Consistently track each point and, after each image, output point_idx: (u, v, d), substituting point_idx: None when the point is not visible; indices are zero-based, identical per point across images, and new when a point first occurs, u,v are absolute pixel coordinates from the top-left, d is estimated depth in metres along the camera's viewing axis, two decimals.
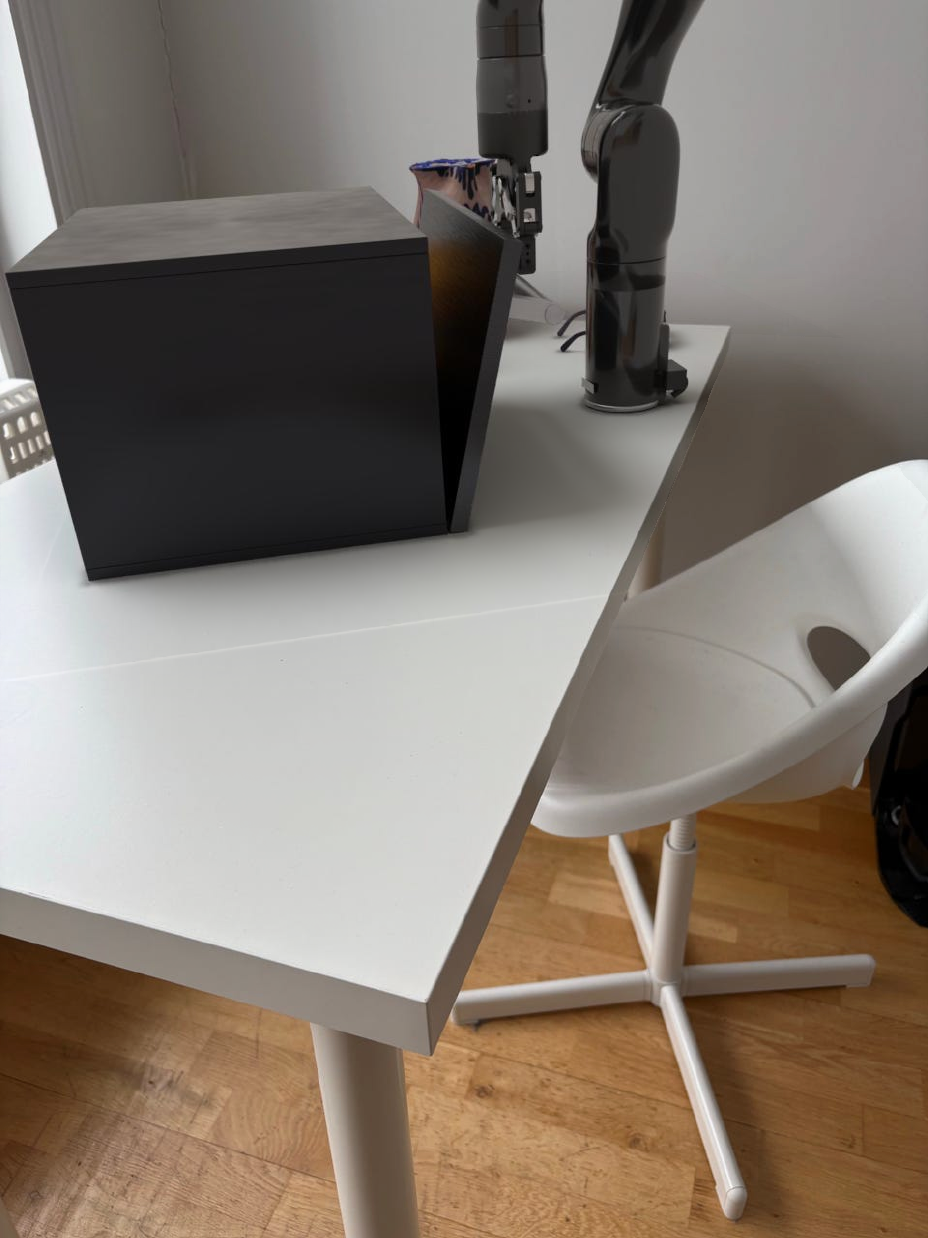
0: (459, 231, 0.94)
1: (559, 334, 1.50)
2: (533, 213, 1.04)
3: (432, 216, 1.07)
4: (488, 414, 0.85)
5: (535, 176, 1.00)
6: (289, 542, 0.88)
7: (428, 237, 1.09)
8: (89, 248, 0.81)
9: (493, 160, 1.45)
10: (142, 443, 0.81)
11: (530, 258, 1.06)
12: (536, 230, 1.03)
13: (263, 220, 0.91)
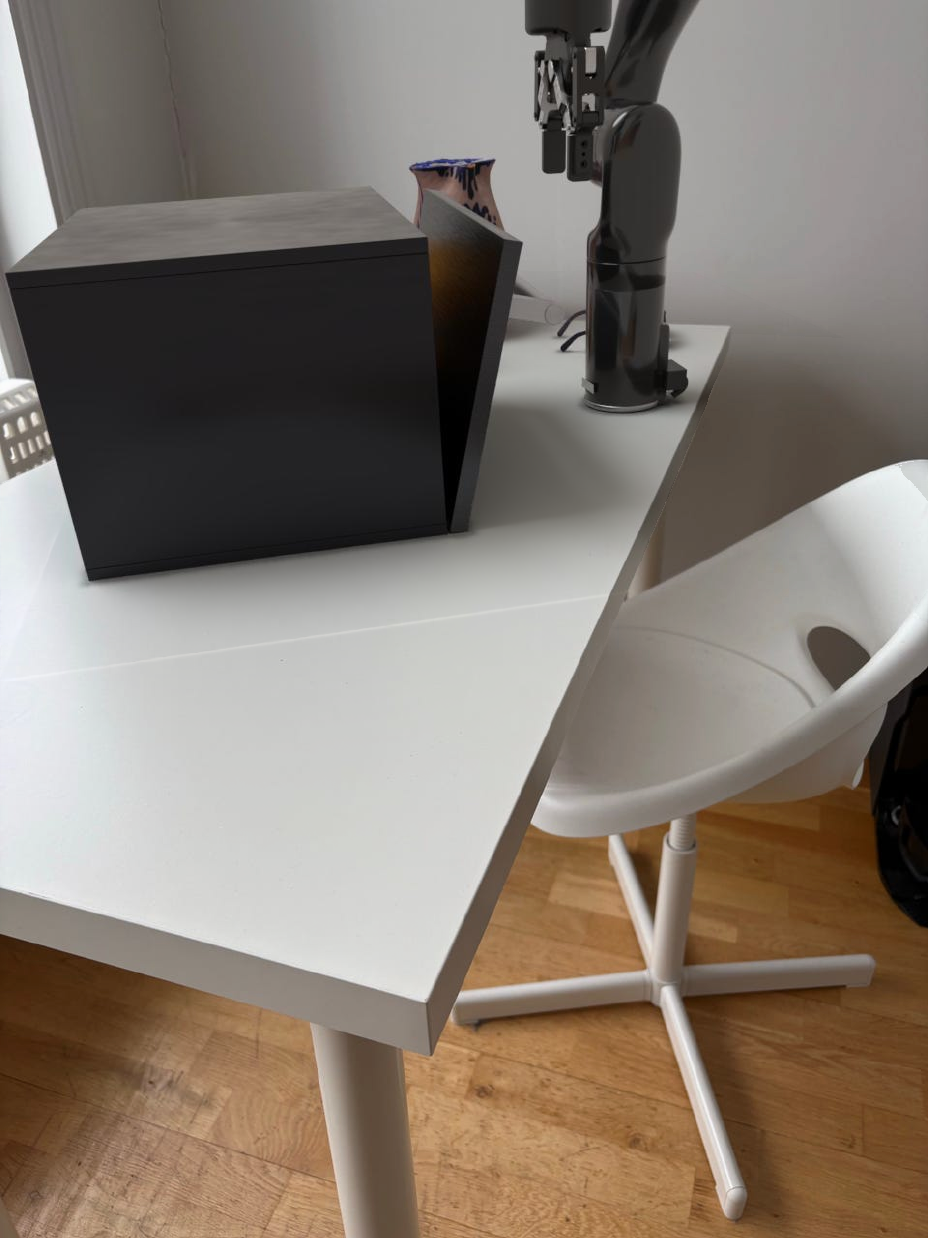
0: (459, 231, 0.94)
1: (559, 334, 1.50)
2: (592, 103, 0.85)
3: (432, 216, 1.07)
4: (488, 414, 0.85)
5: (598, 51, 0.81)
6: (289, 542, 0.88)
7: (428, 237, 1.09)
8: (89, 248, 0.81)
9: (493, 160, 1.45)
10: (142, 443, 0.81)
11: (586, 160, 0.86)
12: (596, 122, 0.83)
13: (263, 220, 0.91)
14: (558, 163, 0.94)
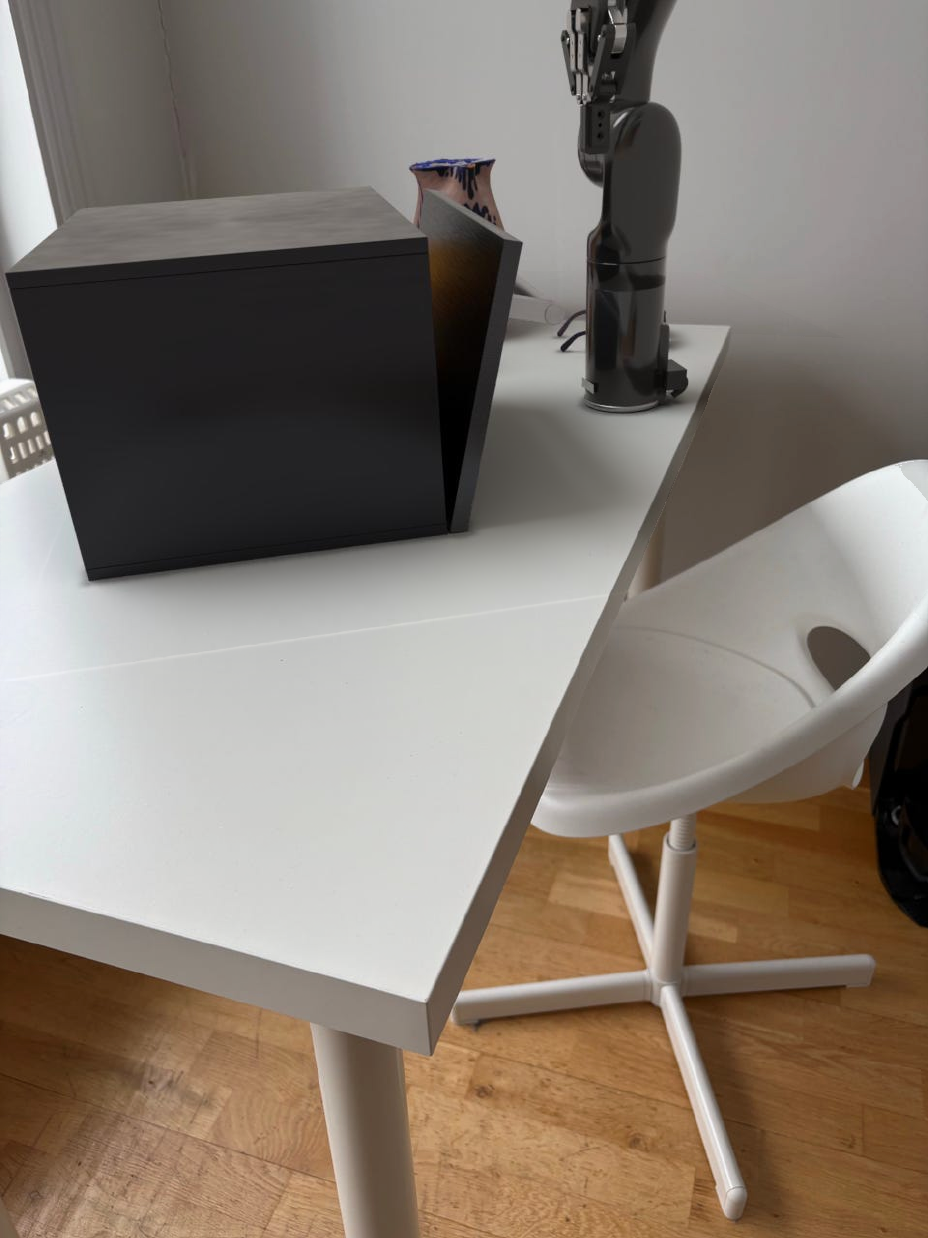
0: (459, 231, 0.94)
1: (559, 334, 1.50)
2: (613, 73, 0.80)
3: (432, 216, 1.07)
4: (488, 414, 0.85)
5: (628, 35, 0.75)
6: (289, 542, 0.88)
7: (428, 237, 1.09)
8: (89, 248, 0.81)
9: (493, 160, 1.45)
10: (142, 443, 0.81)
11: (603, 131, 0.82)
12: (614, 90, 0.79)
13: (263, 220, 0.91)
14: None
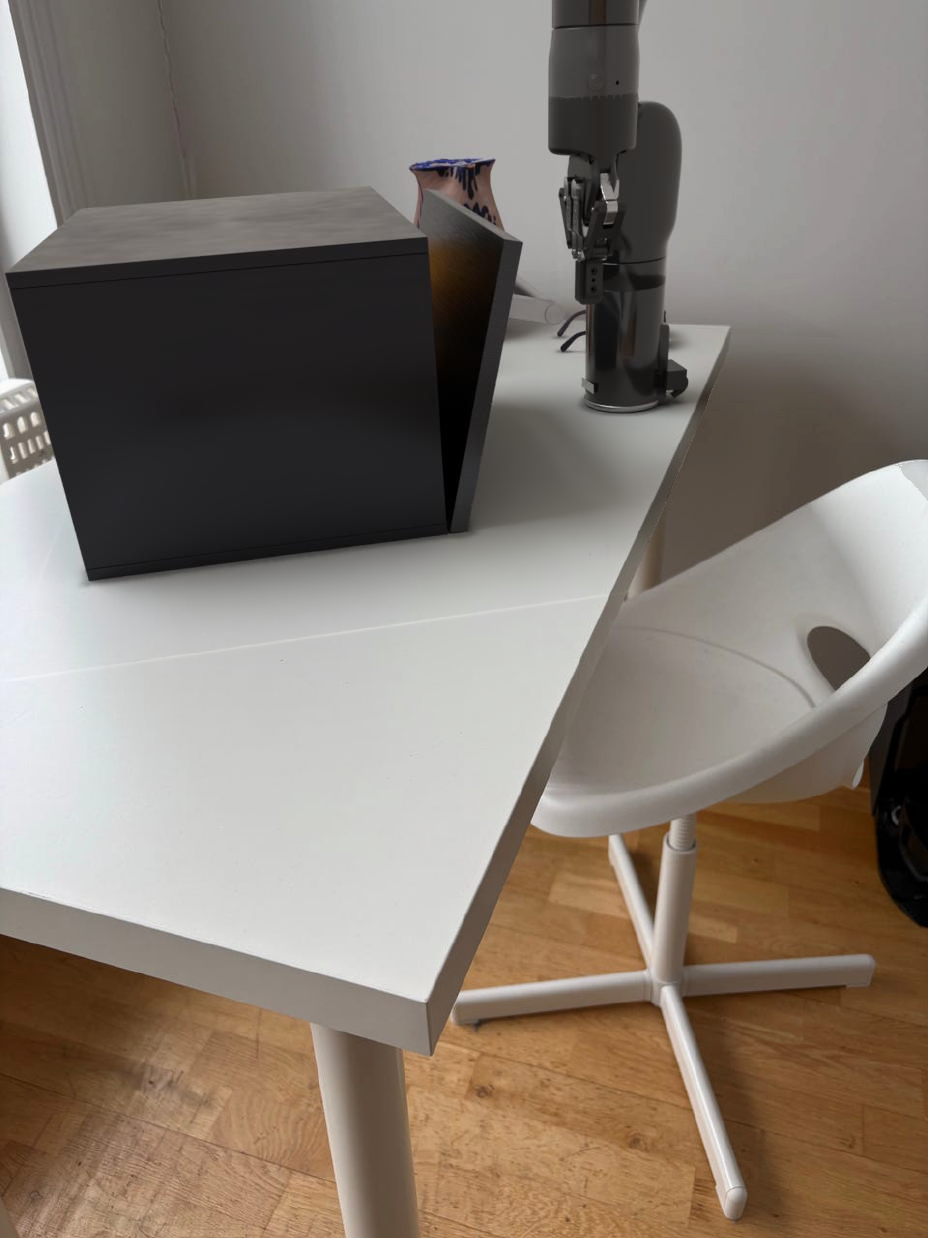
0: (459, 231, 0.94)
1: (559, 334, 1.50)
2: None
3: (432, 216, 1.07)
4: (488, 414, 0.85)
5: (619, 210, 0.81)
6: (289, 542, 0.88)
7: (428, 237, 1.09)
8: (89, 248, 0.81)
9: (493, 160, 1.45)
10: (142, 443, 0.81)
11: (596, 285, 0.89)
12: (606, 253, 0.86)
13: (263, 220, 0.91)
14: None
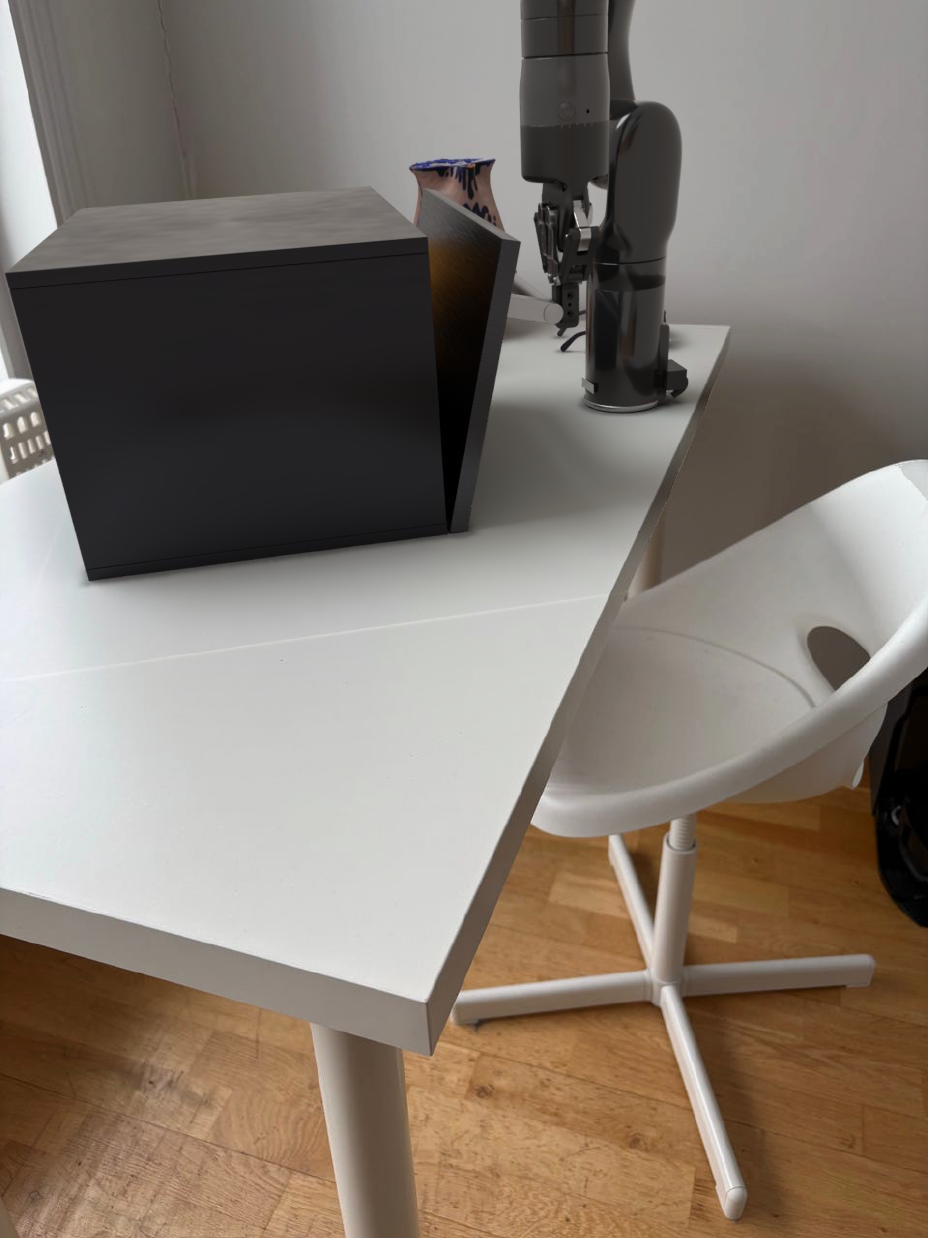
0: (457, 231, 0.94)
1: (559, 334, 1.50)
2: None
3: (431, 216, 1.07)
4: (487, 414, 0.85)
5: (592, 237, 0.82)
6: (289, 542, 0.88)
7: None
8: (89, 248, 0.81)
9: (493, 160, 1.45)
10: (142, 443, 0.81)
11: (573, 310, 0.89)
12: (581, 278, 0.86)
13: (263, 220, 0.91)
14: None
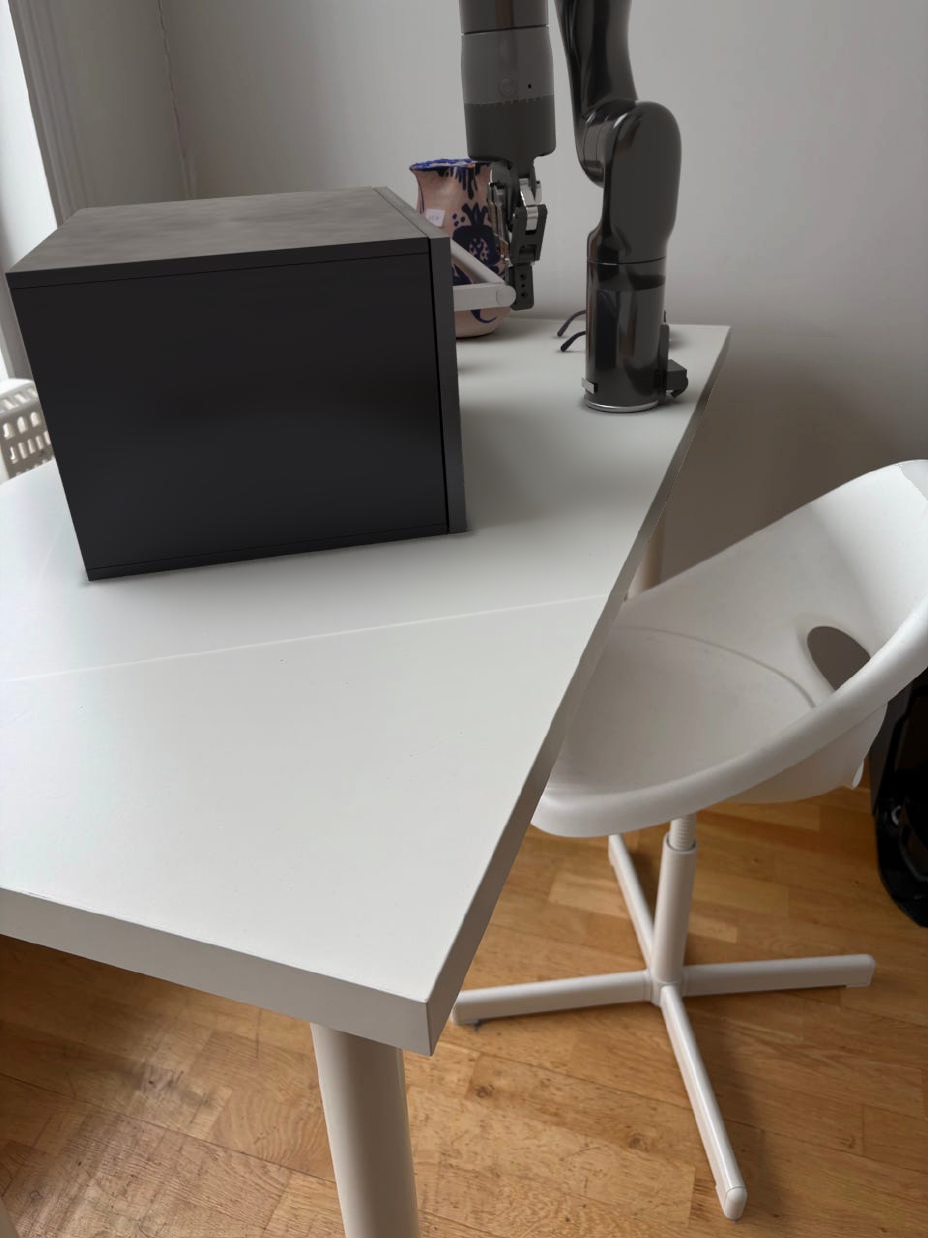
0: None
1: (559, 334, 1.50)
2: None
3: None
4: (458, 412, 0.85)
5: (540, 216, 0.80)
6: (289, 542, 0.88)
7: None
8: (89, 248, 0.81)
9: None
10: (142, 443, 0.81)
11: (526, 291, 0.87)
12: (532, 258, 0.84)
13: (263, 220, 0.91)
14: None
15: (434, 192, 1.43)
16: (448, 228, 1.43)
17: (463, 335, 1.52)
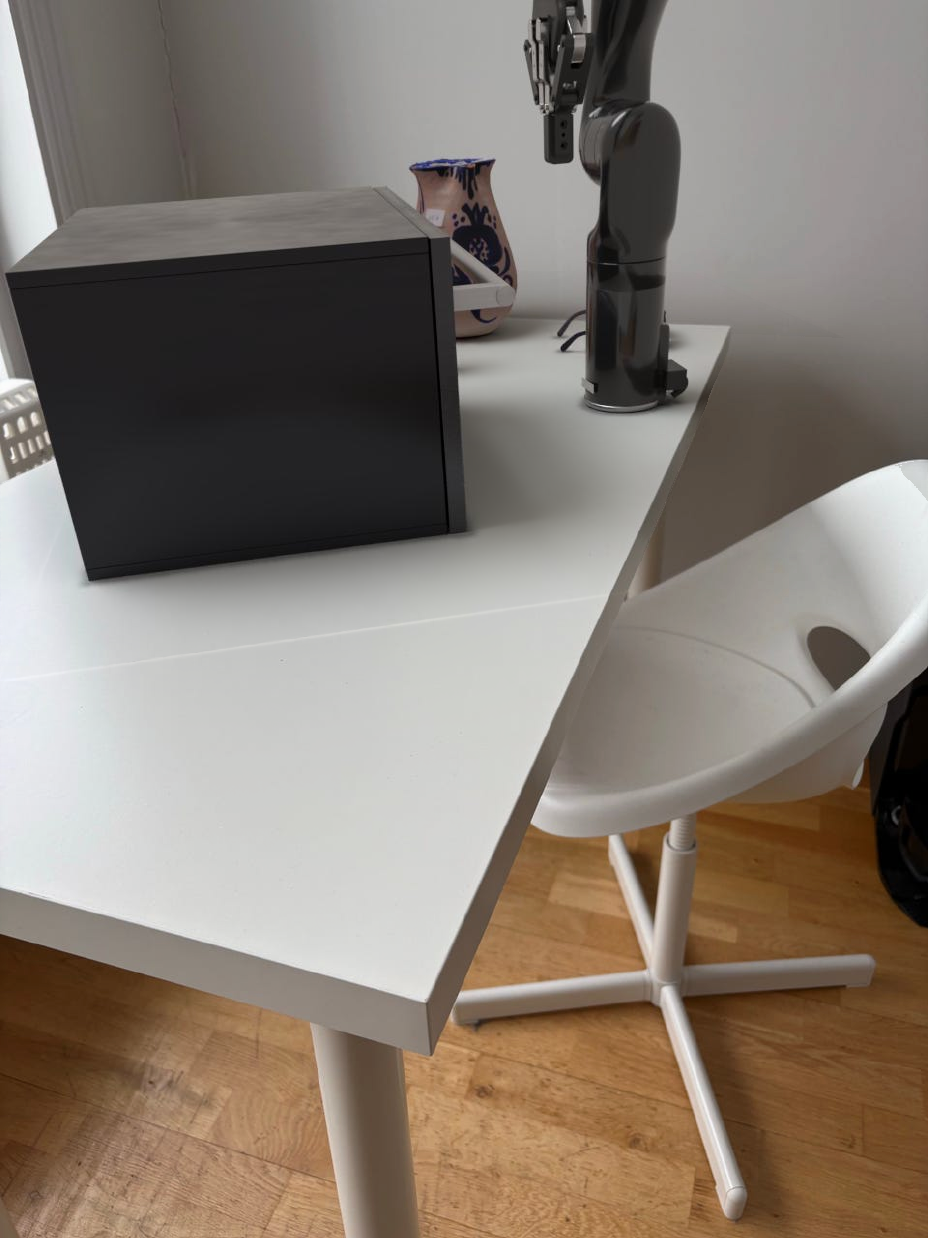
0: None
1: (559, 334, 1.50)
2: (575, 82, 0.80)
3: None
4: (458, 412, 0.85)
5: (587, 45, 0.74)
6: (289, 542, 0.88)
7: None
8: (89, 248, 0.81)
9: (493, 160, 1.45)
10: (142, 443, 0.81)
11: (567, 141, 0.82)
12: (576, 100, 0.79)
13: (263, 220, 0.91)
14: None
15: (434, 192, 1.43)
16: (448, 228, 1.43)
17: (463, 335, 1.52)
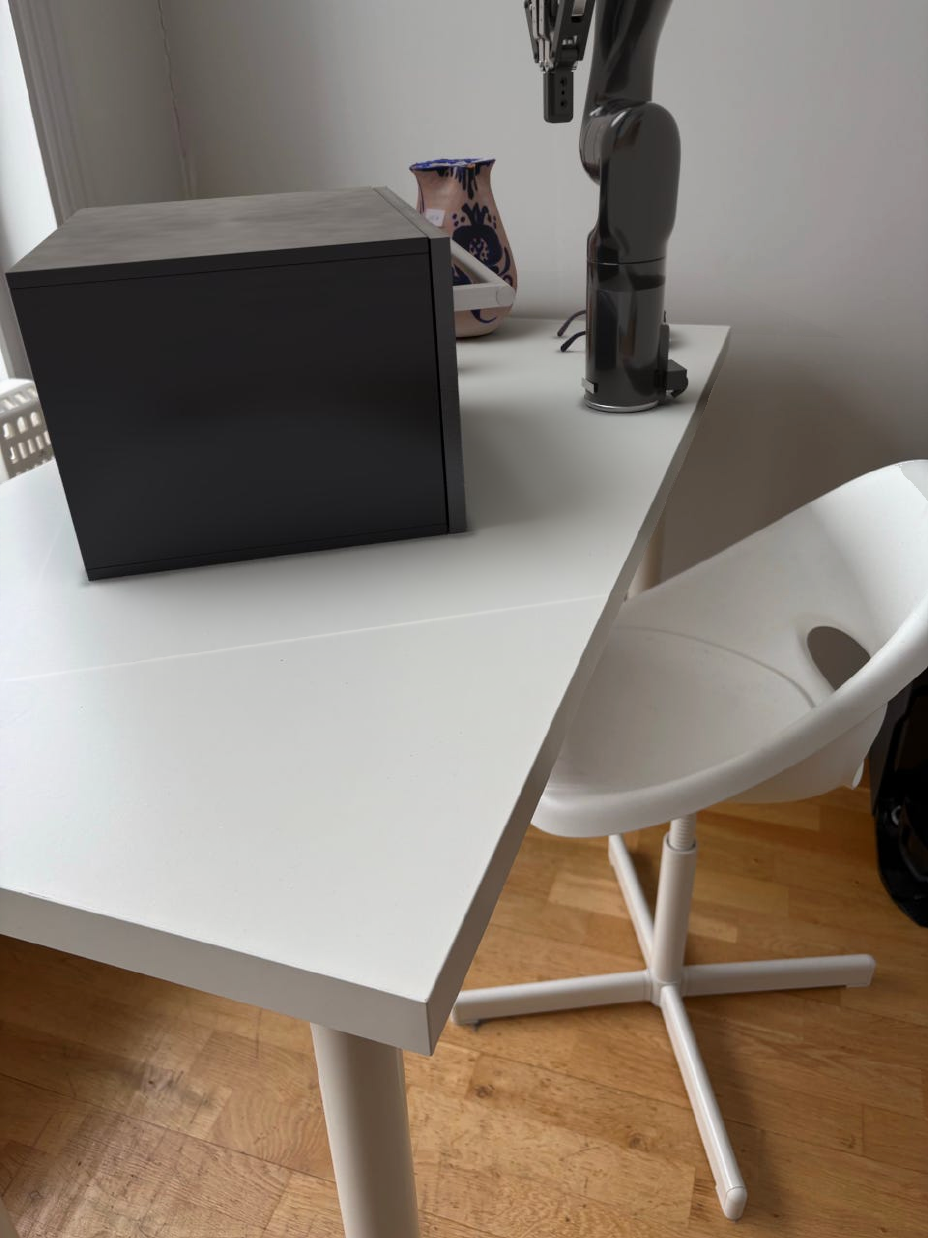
0: None
1: (559, 334, 1.50)
2: (575, 38, 0.78)
3: None
4: (458, 412, 0.85)
5: None
6: (289, 542, 0.88)
7: None
8: (89, 248, 0.81)
9: (493, 160, 1.45)
10: (142, 443, 0.81)
11: (566, 99, 0.80)
12: (576, 56, 0.78)
13: (263, 220, 0.91)
14: None
15: (434, 192, 1.43)
16: (448, 228, 1.43)
17: (463, 335, 1.52)
